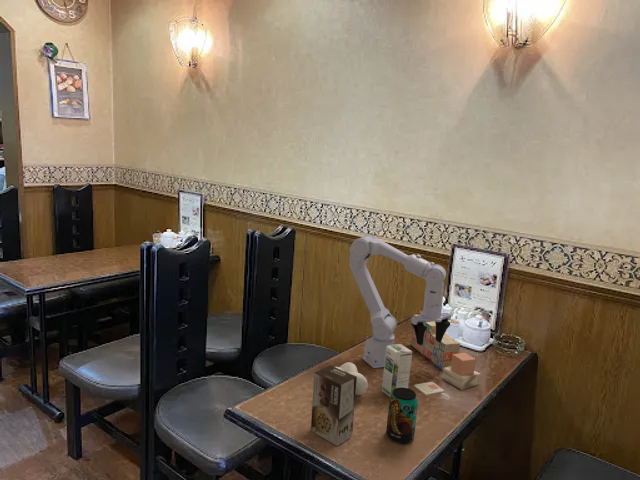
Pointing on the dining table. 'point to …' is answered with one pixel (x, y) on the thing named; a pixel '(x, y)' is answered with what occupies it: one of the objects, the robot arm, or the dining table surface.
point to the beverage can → (402, 415)
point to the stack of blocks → (436, 346)
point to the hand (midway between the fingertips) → (428, 342)
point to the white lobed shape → (361, 380)
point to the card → (429, 388)
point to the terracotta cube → (463, 364)
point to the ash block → (460, 378)
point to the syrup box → (396, 368)
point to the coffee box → (333, 404)
